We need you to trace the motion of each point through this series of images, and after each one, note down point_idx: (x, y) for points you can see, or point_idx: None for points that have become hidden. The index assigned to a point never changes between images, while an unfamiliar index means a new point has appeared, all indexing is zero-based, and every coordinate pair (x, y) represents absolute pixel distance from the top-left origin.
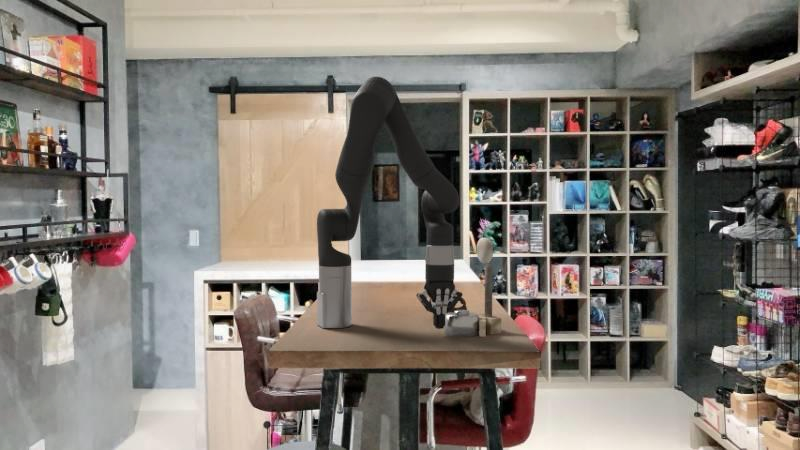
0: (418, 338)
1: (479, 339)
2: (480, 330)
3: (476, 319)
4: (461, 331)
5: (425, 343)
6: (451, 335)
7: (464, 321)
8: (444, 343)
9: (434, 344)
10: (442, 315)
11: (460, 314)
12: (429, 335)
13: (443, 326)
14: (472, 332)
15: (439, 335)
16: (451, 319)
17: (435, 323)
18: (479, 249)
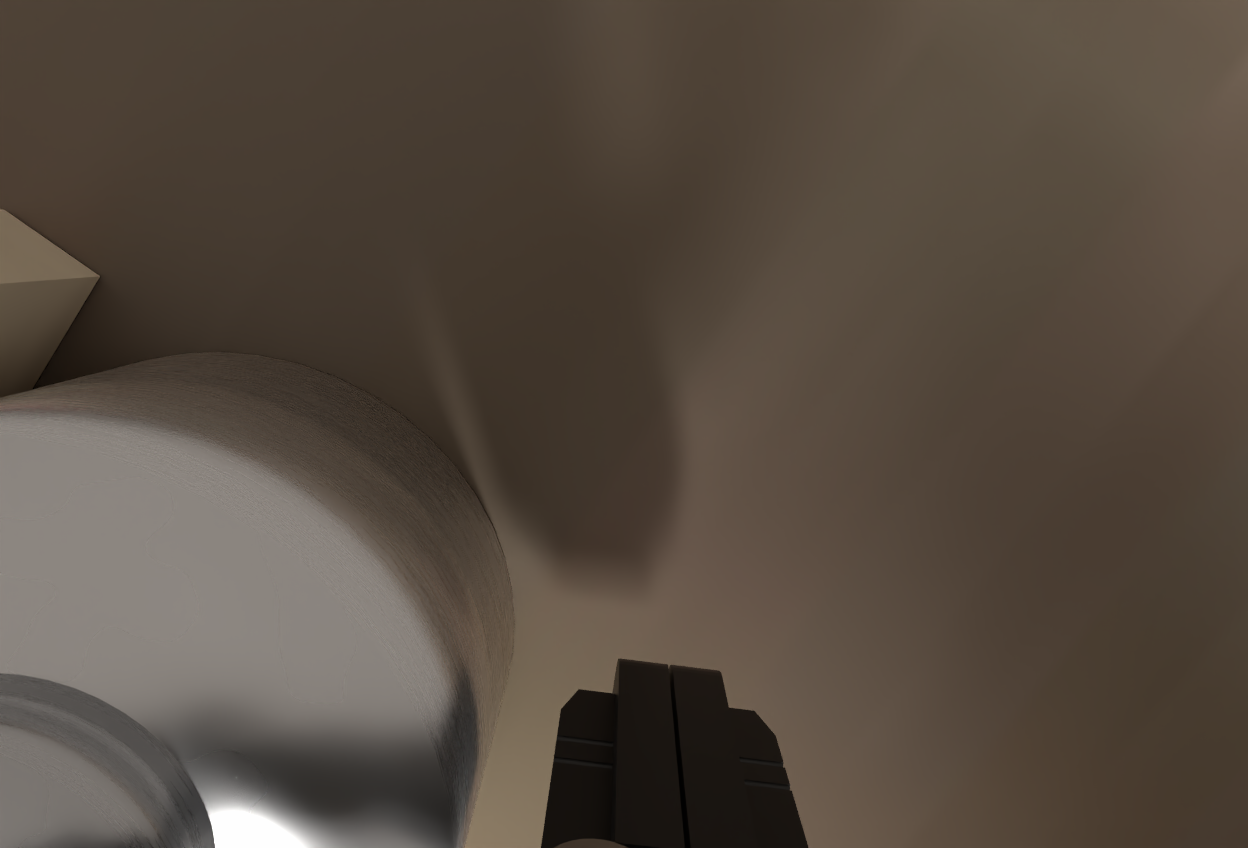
0: (1028, 646)
1: (220, 75)
2: (4, 266)
3: None
4: (363, 430)
5: (1178, 301)
6: (497, 545)
7: (217, 453)
8: (930, 133)
9: (1114, 158)
10: (651, 829)
11: (116, 752)
12: None
13: (622, 665)
14: (165, 362)
15: None
16: (439, 690)
17: (777, 760)
18: None
